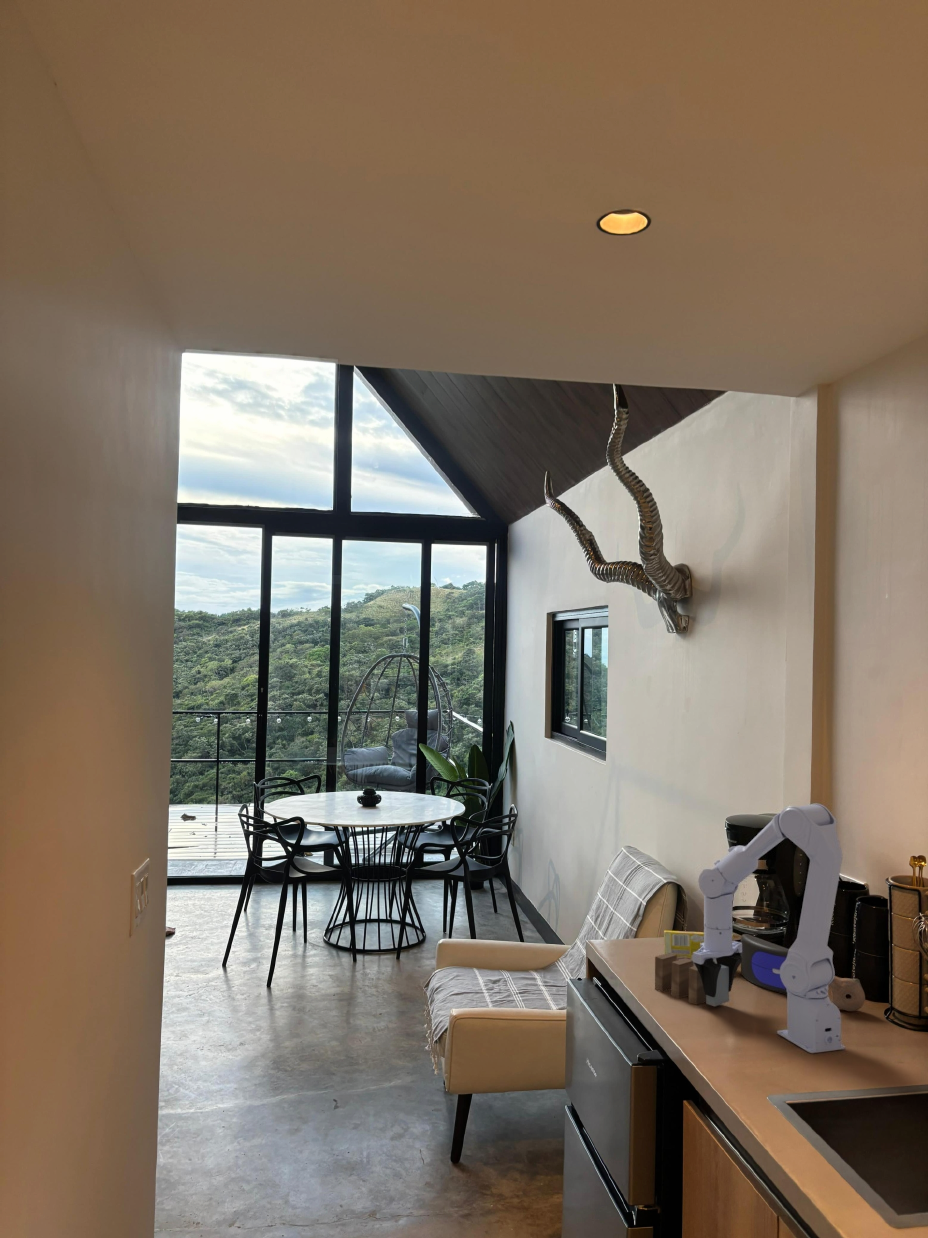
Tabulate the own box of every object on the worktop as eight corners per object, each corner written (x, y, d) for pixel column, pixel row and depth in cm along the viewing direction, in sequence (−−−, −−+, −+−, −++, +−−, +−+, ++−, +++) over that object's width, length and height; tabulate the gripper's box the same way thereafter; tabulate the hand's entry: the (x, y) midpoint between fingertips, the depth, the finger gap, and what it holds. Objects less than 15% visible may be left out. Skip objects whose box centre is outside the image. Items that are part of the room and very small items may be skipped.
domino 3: (710, 1000, 181) (711, 966, 182) (696, 1005, 178) (696, 970, 178) (703, 997, 183) (703, 963, 183) (688, 1002, 179) (688, 968, 180)
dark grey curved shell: (730, 975, 197) (730, 934, 198) (744, 973, 199) (744, 931, 200) (785, 999, 183) (785, 954, 183) (800, 996, 185) (800, 951, 186)
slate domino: (728, 1001, 178) (728, 967, 178) (714, 1006, 174) (714, 971, 175) (720, 998, 179) (720, 964, 180) (706, 1003, 176) (706, 969, 177)
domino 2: (693, 993, 185) (693, 960, 185) (679, 998, 181) (679, 964, 182) (685, 991, 186) (686, 958, 187) (671, 995, 183) (671, 962, 184)
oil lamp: (821, 1012, 176) (821, 972, 176) (816, 1005, 180) (816, 966, 180) (867, 1015, 174) (866, 975, 175) (861, 1008, 178) (861, 969, 179)
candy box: (732, 968, 202) (732, 933, 203) (734, 971, 200) (734, 935, 201) (663, 964, 204) (663, 929, 205) (664, 967, 202) (664, 932, 202)
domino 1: (676, 987, 188) (676, 955, 189) (662, 992, 185) (662, 959, 186) (669, 985, 190) (669, 952, 190) (654, 989, 187) (655, 956, 187)
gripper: (722, 916, 186) (722, 980, 185) (680, 927, 177) (680, 994, 176) (750, 924, 180) (750, 990, 179) (709, 935, 171) (709, 1004, 170)
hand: (717, 993), depth 177 cm, fingers closed on slate domino, 5 cm apart
